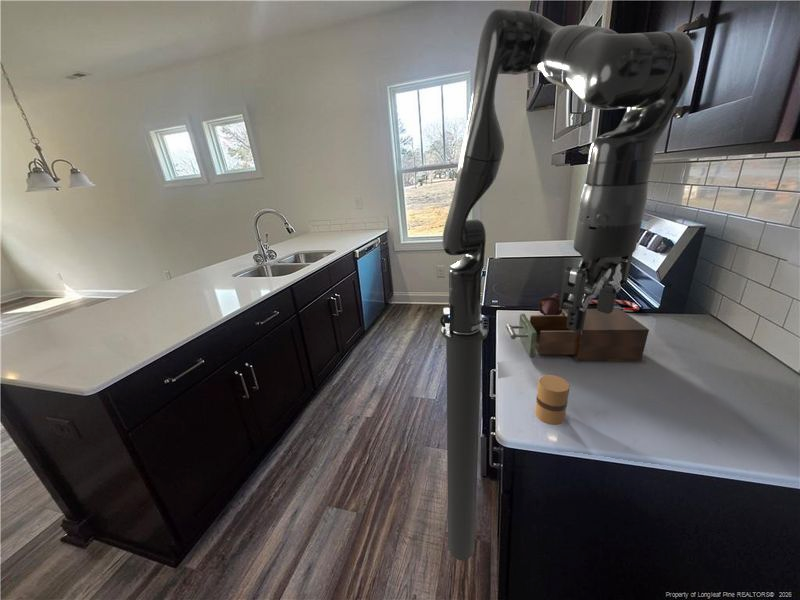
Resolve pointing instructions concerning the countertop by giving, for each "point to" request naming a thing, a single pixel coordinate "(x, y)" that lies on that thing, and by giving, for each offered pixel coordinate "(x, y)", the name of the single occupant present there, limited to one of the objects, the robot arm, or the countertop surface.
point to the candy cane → (621, 303)
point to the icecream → (550, 305)
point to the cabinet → (610, 337)
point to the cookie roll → (552, 399)
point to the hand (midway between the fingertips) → (589, 320)
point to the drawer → (545, 334)
